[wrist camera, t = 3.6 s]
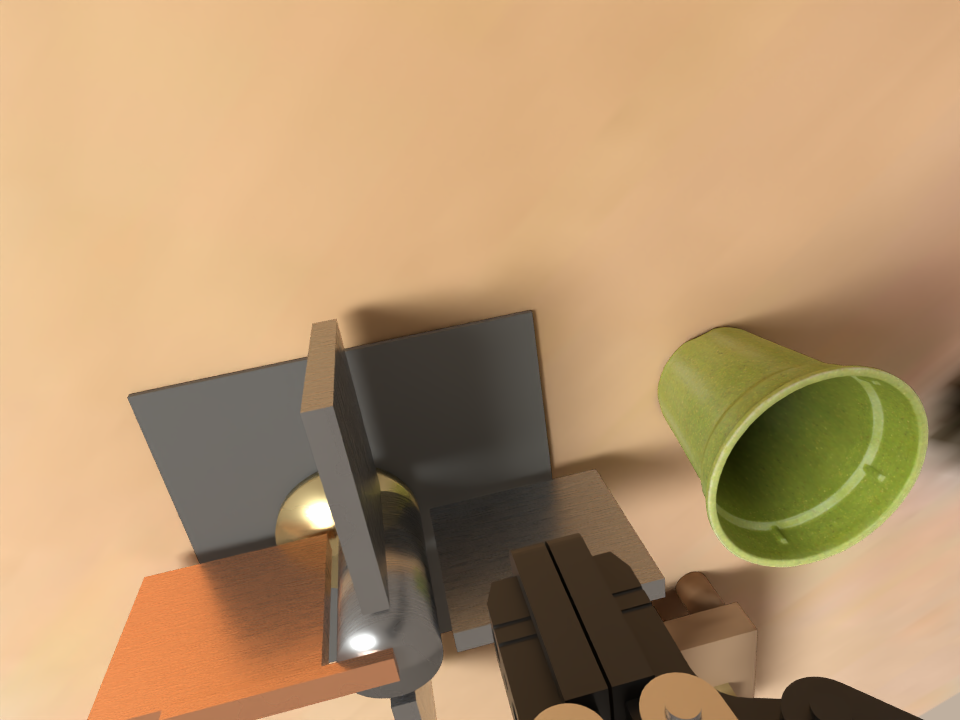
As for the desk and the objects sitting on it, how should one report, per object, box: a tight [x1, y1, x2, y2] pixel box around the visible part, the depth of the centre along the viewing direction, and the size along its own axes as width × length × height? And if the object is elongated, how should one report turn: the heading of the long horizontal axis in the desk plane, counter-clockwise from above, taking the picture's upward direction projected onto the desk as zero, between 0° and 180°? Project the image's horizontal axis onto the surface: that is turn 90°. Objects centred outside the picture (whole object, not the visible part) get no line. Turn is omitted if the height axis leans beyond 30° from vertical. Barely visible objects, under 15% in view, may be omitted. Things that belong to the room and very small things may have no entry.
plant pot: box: [658, 327, 928, 567], centre depth 29 cm, size 9×9×9 cm
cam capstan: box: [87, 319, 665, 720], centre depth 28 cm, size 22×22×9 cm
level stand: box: [663, 572, 757, 698], centre depth 37 cm, size 10×11×7 cm
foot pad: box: [127, 310, 552, 663], centre depth 32 cm, size 18×19×1 cm
